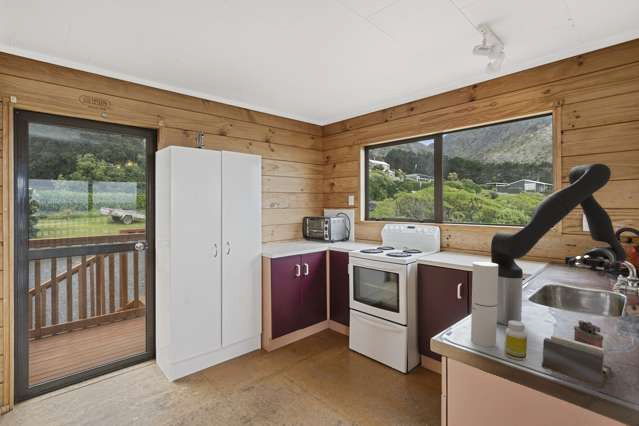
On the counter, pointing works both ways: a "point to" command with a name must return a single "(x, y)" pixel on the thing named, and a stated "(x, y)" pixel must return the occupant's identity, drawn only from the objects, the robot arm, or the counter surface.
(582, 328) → the lighter
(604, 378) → the gauge base
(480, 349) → the counter surface
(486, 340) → the cylindrical container
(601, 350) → the gauge plate
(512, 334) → the supplement bottle
